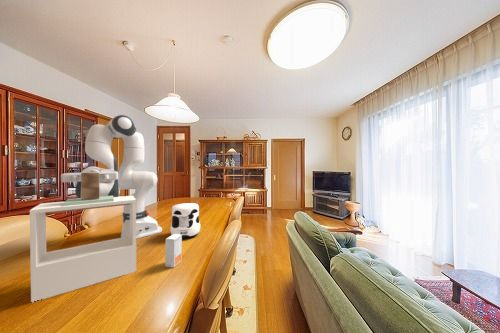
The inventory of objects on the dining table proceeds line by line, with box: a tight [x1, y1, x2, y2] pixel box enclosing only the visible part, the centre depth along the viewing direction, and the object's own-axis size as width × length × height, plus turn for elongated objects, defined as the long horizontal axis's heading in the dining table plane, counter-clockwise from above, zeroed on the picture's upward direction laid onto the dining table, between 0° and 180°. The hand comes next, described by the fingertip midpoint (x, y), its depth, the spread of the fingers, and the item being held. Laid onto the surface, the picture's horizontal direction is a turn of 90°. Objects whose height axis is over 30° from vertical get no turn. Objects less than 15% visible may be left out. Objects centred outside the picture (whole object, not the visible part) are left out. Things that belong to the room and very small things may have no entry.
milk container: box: [170, 202, 201, 239], centre depth 115 cm, size 17×17×18 cm
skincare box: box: [164, 234, 183, 268], centre depth 82 cm, size 6×4×12 cm
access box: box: [29, 195, 137, 303], centre depth 72 cm, size 28×12×30 cm, turn 127°
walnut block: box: [80, 172, 100, 201], centre depth 71 cm, size 5×5×10 cm
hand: (90, 177), depth 82 cm, fingers open, 8 cm apart
